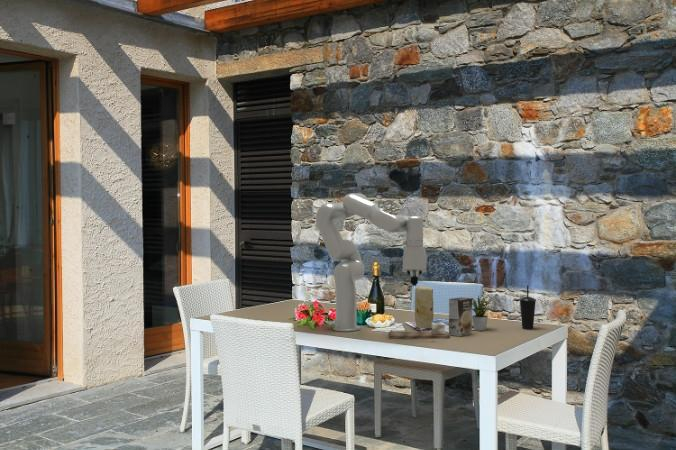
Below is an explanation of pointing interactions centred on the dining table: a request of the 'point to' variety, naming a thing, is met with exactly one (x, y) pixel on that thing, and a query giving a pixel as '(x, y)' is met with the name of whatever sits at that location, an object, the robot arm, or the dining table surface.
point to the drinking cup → (527, 311)
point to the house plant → (480, 314)
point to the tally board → (417, 335)
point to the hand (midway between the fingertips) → (414, 285)
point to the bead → (438, 328)
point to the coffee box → (460, 316)
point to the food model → (424, 306)
